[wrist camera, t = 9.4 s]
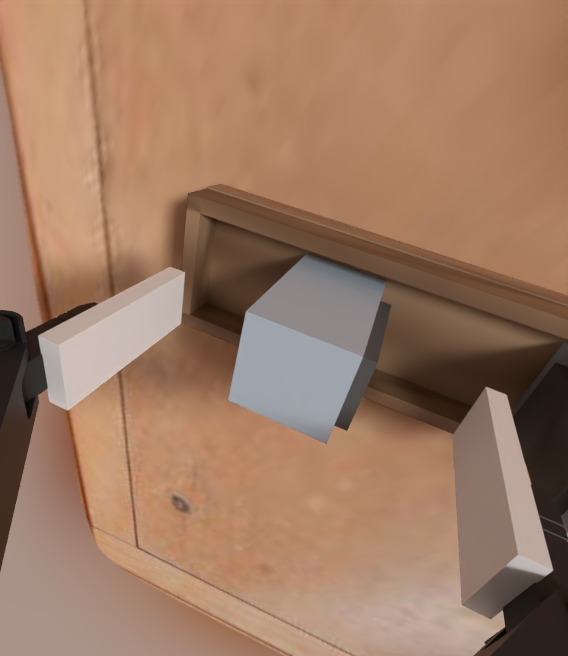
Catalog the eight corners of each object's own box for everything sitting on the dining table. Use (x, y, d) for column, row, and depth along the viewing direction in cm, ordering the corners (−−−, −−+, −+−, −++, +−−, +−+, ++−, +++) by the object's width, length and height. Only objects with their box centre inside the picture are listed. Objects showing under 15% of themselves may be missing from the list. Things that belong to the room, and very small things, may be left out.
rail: (220, 183, 22) (99, 211, 14) (719, 344, 17) (972, 526, 9) (205, 301, 26) (105, 374, 18) (604, 457, 21) (709, 650, 13)
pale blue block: (306, 253, 20) (246, 311, 14) (397, 285, 19) (379, 363, 13) (288, 322, 23) (228, 400, 16) (368, 353, 22) (340, 450, 15)
